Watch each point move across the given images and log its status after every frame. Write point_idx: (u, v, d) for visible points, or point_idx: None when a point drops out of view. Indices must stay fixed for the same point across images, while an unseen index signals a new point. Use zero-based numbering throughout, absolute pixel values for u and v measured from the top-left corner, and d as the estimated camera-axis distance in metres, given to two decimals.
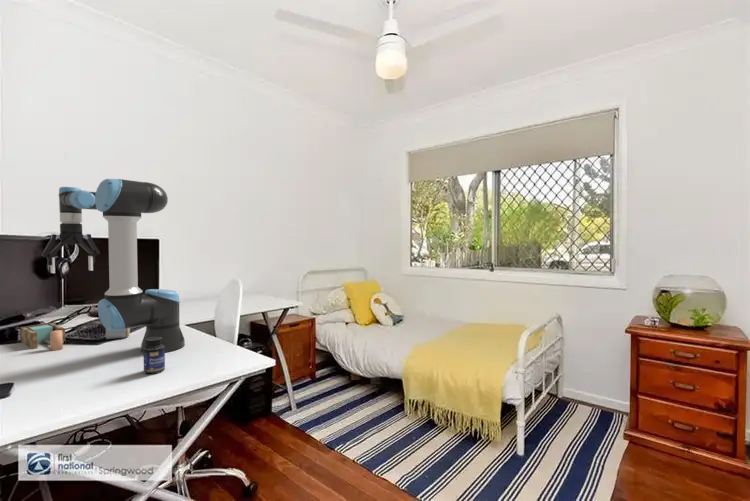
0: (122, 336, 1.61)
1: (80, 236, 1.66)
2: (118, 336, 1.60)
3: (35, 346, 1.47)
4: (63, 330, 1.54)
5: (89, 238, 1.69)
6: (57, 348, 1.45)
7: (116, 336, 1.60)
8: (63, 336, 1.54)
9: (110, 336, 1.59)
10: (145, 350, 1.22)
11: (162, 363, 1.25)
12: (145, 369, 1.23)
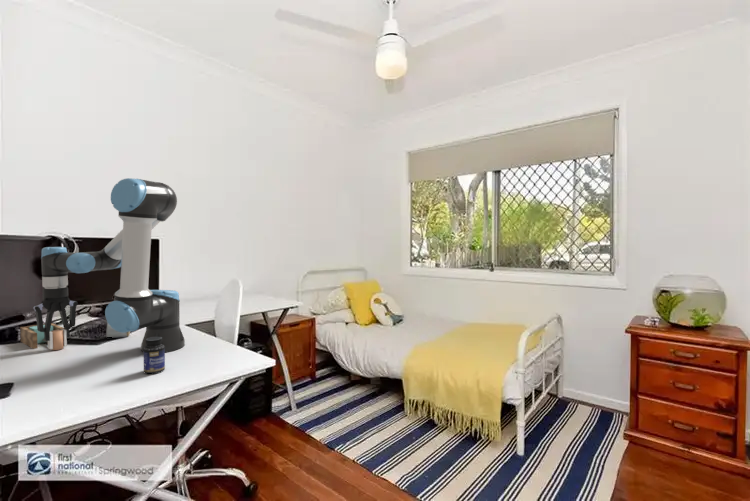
0: (123, 335, 1.63)
1: (66, 301, 1.47)
2: (119, 335, 1.62)
3: (35, 346, 1.47)
4: None
5: (74, 306, 1.49)
6: (58, 347, 1.45)
7: (117, 335, 1.61)
8: None
9: (111, 335, 1.60)
10: (145, 350, 1.22)
11: (162, 363, 1.25)
12: (145, 369, 1.23)
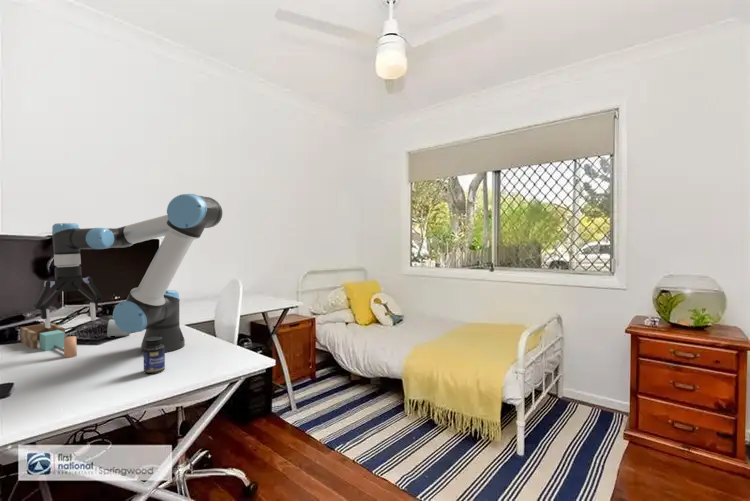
0: (123, 334, 1.64)
1: (79, 281, 1.39)
2: (119, 334, 1.63)
3: (35, 346, 1.47)
4: (63, 330, 1.54)
5: (90, 282, 1.42)
6: (71, 355, 1.38)
7: (117, 334, 1.63)
8: None
9: (112, 334, 1.62)
10: (145, 350, 1.22)
11: (162, 363, 1.25)
12: (145, 369, 1.23)
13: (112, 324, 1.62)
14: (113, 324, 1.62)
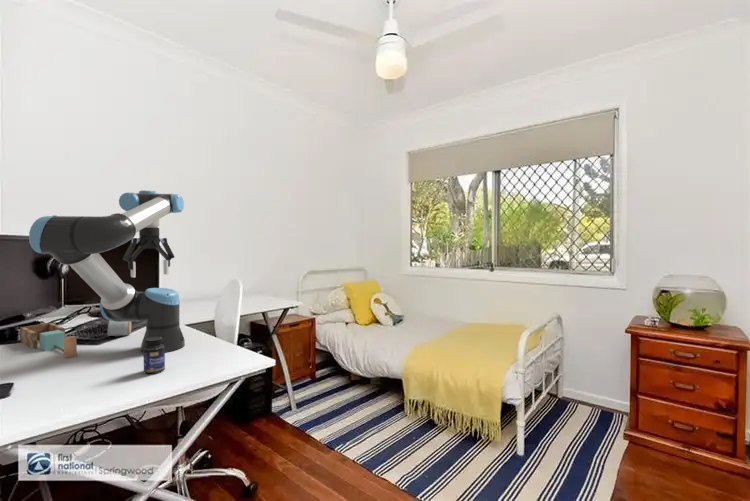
0: (124, 334, 1.65)
1: (157, 240, 1.65)
2: (120, 334, 1.64)
3: (35, 346, 1.47)
4: (63, 330, 1.54)
5: (165, 242, 1.68)
6: (71, 355, 1.38)
7: (118, 334, 1.63)
8: None
9: (112, 334, 1.62)
10: (145, 350, 1.22)
11: (162, 363, 1.25)
12: (145, 369, 1.23)
13: (112, 324, 1.62)
14: (113, 324, 1.62)
